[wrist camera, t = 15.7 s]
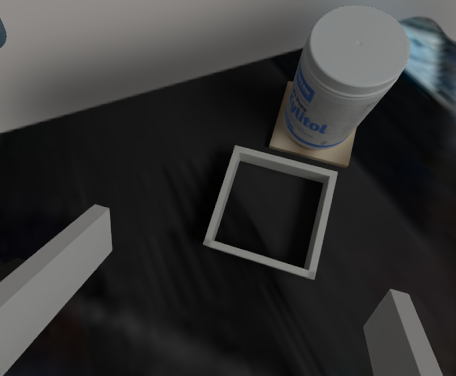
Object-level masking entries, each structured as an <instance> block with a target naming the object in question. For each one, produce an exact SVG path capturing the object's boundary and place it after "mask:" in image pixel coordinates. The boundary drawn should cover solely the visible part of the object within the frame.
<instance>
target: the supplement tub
mask: <svg viewBox="0 0 456 376" xmlns="http://www.w3.org/2000/svg"><path fill="white" fill-rule="evenodd" d="M409 55H410V43H409V39H408V36H407V34H406V32H405V30H404V29H403V27H402V26H401V25H400V24H399V23H398V22H397V21H396V20H395V19H394V18H392V17H391V16H390V15H388V14H386V13H385V12H383V11H380V10H378V9H375V8H372V7H368V6H361V5H350V6H343V7H339V8H336V9H334V10H331V11H329V12H327V13H326V14H324V15H323V16H322V17H321V18H320V19H319V20H318V21H317V22H316V23H315V25H314V26H313V28H312V30H311V33H310V35H309V37H308V39H307V41H306V43H305V46H304V49H303V52H302V55H301V58H300V62H299V65H298V68H297V72H296V75H295V78H294V82H293V85H292V88H291V92H290V95H289V98H288V102H287V105H286V109H285V112H284V123H285V127H286V129H287V132H288V133H289V135H290V136H291V137H292V139H293V140H295V141H296V142H297V143H298V144H300V145H302V146H304V147H306V148H310V149H314V150H327V149H331V148H334V147H336V146H338V145H340V144H341V143H342V142H344V141H345V140H346V138H347V137H348V136H349V135H350V134H351V133H352V132H353V131H354V129H355V128H356V127H357V126H358V125H359V124H360V122H361V121H362V120H363V119H364V118H365V117H366V115H367V114H368V113H369V112H370V111H371V110H372V109H373V107H374V106H375V105H376V104H377V103H378V102H379V100H380V99H381V98H382V97H383V96H384V95H385V93H386V92H387V91H388V90H389V89H390V87H391V86H392V85H393V84H394V83H395V81H396V80H397V79H398V77H399V76H400V74H401V72H402V71H403V70H404V68H405V66H406V64H407V62H408V60H409Z"/></svg>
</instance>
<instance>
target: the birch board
mask: <svg viewBox="0 0 456 376" xmlns="http://www.w3.org/2000/svg"><path fill="white" fill-rule="evenodd" d="M292 85H293V82H290V81H288V84H287V87H286V91H285V94H284V98H283V101H282V104H281V108H280V111H279V115H278V118H277V122H276V125H275V128H274V132H273V135H272V139H271V142H270V146H269V148H271V149H275V150H278V151H282V152H286V153H290V154H294V155H298V156H301V157H305V158H309V159H313V160H317V161H321V162H325V163H328V164H332V165H336V166H340V167H344V168H347V167H348V164H349V160H350V155H351V150H352V145H353V140H354V136H355V131H356V128H355V129H354V131H353V132H352V133H351V134H350V135H349V136H348V137H347V138H346V140H345V141H344V142H342V143H341V144H340V145H338V146H336V147H334V148H331V149H327V150H314V149H310V148H306V147H304V146H302V145H300V144H298V143H297V142H296V141H295V140H293V139H292V137H291V136H290V135H289V133H288V132H287V129H286V127H285V123H284V112H285V109H286V105H287V102H288V98H289V95H290V92H291V88H292Z"/></svg>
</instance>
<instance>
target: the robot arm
mask: <svg viewBox="0 0 456 376" xmlns="http://www.w3.org/2000/svg"><path fill="white" fill-rule="evenodd" d="M6 37H7V36H6V31H5V28H4V25H3V23H2V21H1V19H0V48H1V47H2V46H3V45H4V43H5V41H6ZM111 251H112V241H111V227H110V212H109V208H106V207H102V206H99V205H93V206H92V207H91V208H90V209H89V210H87V211H86V212H85V213H84V214H82V215H81V216H80V217H79V218H78V219H76V220H75V221H74V222H73V223H71V224H70V225H69V226H68V227H67V228H65V229H64V230H63V231H62V232H61V233H59V234H58V235H57V236H56V237H54V238H53V239H52V240H51V241H50V242H48V243H47V244H46V245H45V246H44V247H42V248H41V249H40V250H39V251H37V252H36V253H35V254H34V255H33V256H31V257H30V258H29V259H28V260H27V261H26V260H23V259H20V258H17V259H14V260H12V261H10V262H8V263H6V264H4V265H2V266H0V376H3V375H4V374H5V372H6V371H7V370H8V369H9V368H10V367H11V366H12V364H13V363H14V362H15V361H16V360H17V359H18V358H19V356H20V355H21V354H22V353H23V352H24V351H25V350H26V348H27V347H28V346H29V345H30V344H31V343H32V342H33V340H34V339H35V338H36V337H37V336H38V335H39V334H40V332H41V331H42V330H43V329H44V328H45V327H46V326H47V324H48V323H49V322H50V321H51V320H52V319H53V318H54V316H55V315H56V314H57V313H58V312H59V311H60V310H61V308H62V307H63V306H64V305H65V304H66V303H67V301H68V300H69V299H70V298H71V297H72V296H73V295H74V293H75V292H76V291H77V290H78V289H79V288H80V287H81V285H82V284H83V283H84V282H85V281H86V280H87V279H88V277H89V276H90V275H91V274H92V273H93V272H94V271H95V269H96V268H97V267H98V266H99V265H100V264H101V263H102V261H103V260H104V259H105V258H106V257H107V256H108V255H109V253H110V252H111ZM363 328H364V332H365V337H366V342H367V346H368V351H369V355H370V360H371V365H372V369H373V374H374V376H443V375H442V373H441V370H440V368H439V365H438V363H437V361H436V358H435V356H434V354H433V351H432V349H431V346H430V344H429V342H428V339H427V337H426V335H425V332H424V330H423V327H422V325H421V323H420V320H419V318H418V315H417V313H416V311H415V308H414V306H413V304H412V301H411V299H410V296H409V294H406V293H403V292H399V291H396V290H392V289H390V290H389V291H388V293H387V294H386V295H385V297H384V298H383V300H382V301H381V302H380V304H379V305H378V307H377V308H376V310H375V311H374V312H373V314H372V315H371V317H370V318H369V320H368V321H367V322H366V324H365V325H364V327H363Z"/></svg>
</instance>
